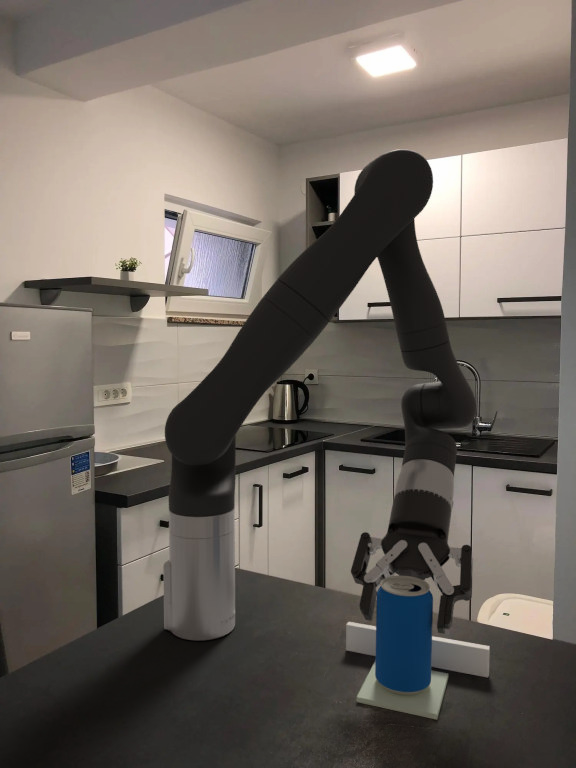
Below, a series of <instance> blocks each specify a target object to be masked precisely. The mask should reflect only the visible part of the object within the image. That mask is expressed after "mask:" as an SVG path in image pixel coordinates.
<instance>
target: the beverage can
mask: <svg viewBox="0 0 576 768" xmlns="http://www.w3.org/2000/svg"><path fill="white" fill-rule="evenodd" d="M376 591H377V596H376V605H375V606H376V611H375V614H376V617H375V620H376V623H375V626H376V656H375V660H376V661H375V660H374V662H375V676H376V679H377V681H378V682H379V683H380V684H381V685H382V686H384V688H386V689H387V690H388V691H390V692H392V693H395V694H399V695H414V694H417V693H420V692H421V691H422V690H424V689H426V688H427V687H428V686H429V685H430V683H431V670H432V667H431V661H432V636H433V623H434V622H433V617H434V616H433V615H434V613H433V612H434V611H433V610H434V597H433V594H432V591H430V584H429V583H428V582H427V581H426V580H422V579H419V578H416V577H411V576H399V575H394V576H390V577H387V578H384V579H383V580H382V581H381V585H380V586H379V587H378V588H377V590H376Z"/></svg>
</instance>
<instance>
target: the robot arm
mask: <svg viewBox="0 0 576 768" xmlns="http://www.w3.org/2000/svg"><path fill="white" fill-rule="evenodd" d="M433 187H434V176H433V170H432V167H431V166H430V163H429V162H428V160H427V158H425V157H424V156H423V155H422V154H420V153H419V152H417V151H414V150H412V149H406V148H405V149H403V148H402V149H394V150H390V151H387V152H384V153H382V154H380V155H378V157H376V158H375V159H373V160H371V162H369V163H368V164H366V166H364V167H363V168H362V170H361V171H360V172H359V174H358V176H357V178H356V181H355V184H354V189H353V190H354V194H353V196H352V197H351V199H350V201H349V202H348V203H347V205H346V206H345V208H344V209H343V210H342V212H341V214H339V216H337V218H336V219H335V221H334V222H333V223H332V224H331V226H330V227H328V229H327V230H326V231H324V232H323V234H321V236H319V237H318V238H317V239H316V240H315V241H313V242H312V244H311V245H309V246H308V247H306V249H305V250H303V252H301V254H299V255H298V256H297V257H296V258H295V260H294V261H292V262H291V263H290V264H289V266H288V267H287V268H286V269H285V270H284V271H283V272H282V273H281V274H280V276H279V277H277V280H275V282H273V284H272V285H271V287H270V288H269V289H267V292H266V293H264V295H263V296H262V298H261V299H260V301H258V303H257V305H256V306H255V307H254V309H253V310H252V311H251V313H250V314H249V316H248V317H247V319H246V320H245V321H244V323H243V325H242V326H241V328H240V329H239V331H238V332H237V334H236V336H235V337H234V338H233V340H232V342H231V344H230V346H229V347H228V349H227V351H226V352H225V354H224V355H223V356H222V358H220V360H219V361H218V363H216V365H215V366H214V367H213V369H212V370H211V371H210V372H209V373H208V374H207V375H206V376H205V377H204V378H203V379H202V380H201V382H200V383H199V384H198V385H197V386H196V387H195V388H194V389H192V391H191V392H190V393H188V394H187V396H186V397H184V399H182V400H181V401H180V402H179V403H177V404H176V405H175V406H174V407H173V408H172V409H171V411H170V413H169V414H168V417H167V418H166V421H165V425H164V440H165V444H166V446H167V448H168V451H169V453H170V455H171V473H170V474H171V475H170V484H169V489H168V534H169V535H168V540H169V541H168V542H169V543H168V545H169V546H168V547H169V549H168V550H169V558H168V560H167V561H165V562H164V563H163V567H162V569H163V629H164V630H168V631H169V632H171V633H172V634H173V635H174V636H176V637H178V638H180V639H182V640H183V639H184V640H189V641H210V640H214V639H219V638H221V637H224V636H225V635H228V634H229V633H230V632H232V631H233V629H235V625H236V553H235V552H236V541H235V539H236V535H235V534H236V531H235V529H236V528H235V527H236V526H235V525H236V524H235V521H236V520H235V512H236V511H235V506H236V505H235V498H236V455H237V454H236V450H237V449H236V448H237V447H236V441H237V440H236V438H237V437H236V436H237V433H238V431H239V430H240V428H242V425H243V424H244V423H245V421H246V419H247V418H248V416H249V415H250V413H251V412H252V411H253V408H254V407H256V404H258V402H259V400H260V399H261V398H262V397H263V396H264V394H265V393H266V392H267V391H268V390H269V388H271V387H272V386H273V384H275V383H276V382H277V381H278V380H279V379H280V378H281V377H282V376H283V375H284V374H285V373H286V372H287V371H288V370H289V369H290V368H291V367H292V366H293V365H294V364H295V363H296V362H297V361H298V360H299V359H300V358H301V356H302V355H304V353H305V352H306V350H308V348H310V347H311V345H312V344H313V343H314V342H315V340H316V339H317V338H318V337H319V336H320V335H321V333H322V332H323V331H324V329H325V328H326V327H327V325H329V323H330V322H331V321H332V319H333V318H334V317H335V315H336V314H337V313H338V311H339V310H340V308H342V306H343V305H344V303H345V302H346V301H347V299H348V298H349V296H350V295H351V294H352V292H353V291H354V289H355V288H356V287H357V285H358V284H359V283H360V281H361V280H362V278H363V277H364V275H365V274H366V272H367V270H368V269H370V267H371V265H372V264H373V262H375V260H376V259H377V261H378V264H379V267H380V270H381V273H382V277H383V280H384V283H385V289H386V292H387V296H388V298H389V299H388V300H389V304H390V308H391V312H392V317H393V322H394V326H395V332H396V335H397V339H398V343H399V348H400V354H401V358H402V361H403V364H404V366H405V367H406V368H407V369H409V370H411V371H417V372H420V371H421V372H426V373H430V374H432V375H433V376H435V377H436V378H437V379H438V380H439V381H434V382H433V381H432V382H425V383H424V382H423V383H417V384H413V385H412V386H409V388H408V389H407V390H405V392H404V393H403V395H402V397H401V402H400V404H401V407H400V408H401V414H402V418H403V424H404V425H403V426H404V438H405V439H404V440H405V443H404V444H405V447H404V452H403V453H404V454H403V457H402V463H401V469H400V473H399V474H398V477H397V482H396V484H395V489H394V496H393V500H392V504H391V505H392V506H391V511H390V516H389V521H388V527H387V532H386V534H385V535H384V537H383V538H379V537H374V536H371V534H370V533H369V532H367V531H364V532H363V533H361V534H360V537H359V540H358V544H357V547H356V551H355V554H354V557H353V562H352V565H351V569H350V573H351V576H352V578H353V581H354V583H355V584H358V585H360V586H362V589H361V590H362V591H361V594H360V601H359V610H360V612H361V614H362V615H363V617H364V620H365V621H370V622H372V620H373V617H374V610H375V606H376V602H377V591H378V589H379V588H380V586H381V581H382V580H383V579H384V578H387V577H390V576H396V575H397V576H411V577H416V578H419V579H422V580H424V581H426V579H429V578H431V580H432V582H433V583H434V586H435V587H436V588H437V590H439V592H440V594H441V595H440V597H439V598H440V599H439V606H438V612H437V613H438V615H437V623H436V629H437V633H438V634H443V635H445V634H446V630H450V629H451V627H452V625H453V618H454V617H453V615H454V609H455V604H456V602H458V601H462V600H463V601H465V602H466V601H467V602H469V601H470V600H471V599H472V598H473V597H472V596H473V569H474V566H473V564H474V558H473V549H472V546H471V545H469V544H463V545H462V546H461V547H451V546H450V545H449V542H448V540H449V535H450V525H451V518H452V509H453V508H454V493H455V490H454V489H455V487H454V486H455V485H454V483H455V482H454V478H455V469H456V463H457V462H456V461H457V454H458V447H457V442H456V440H455V439H454V438H453V437H452V436H451V435H449V434H448V433H447V432H445V431H442V430H450V429H451V430H452V429H453V430H454V429H462V428H465V427H468V426H470V425H471V423H472V422H473V420H474V419H475V416H476V414H477V402H476V397H475V394H474V392H473V390H472V387H471V385H470V384H469V382H468V380H467V379H466V377H465V375H464V373H463V371H462V369H461V367H460V366H459V363H458V361H457V359H456V355H455V353H454V351H453V349H452V345H451V341H450V336H449V332H448V327H447V321H446V318H445V313H444V309H443V307H442V306H443V305H442V303H441V299H440V297H439V295H438V293H437V290H436V286H435V285H434V283H433V281H432V278H431V277H430V276H431V275H430V274H429V272H428V270H427V268H426V265H425V263H424V260H423V257H422V254H421V252H420V251H421V250H420V248H419V244H418V239H417V233H416V224H415V222H416V221H415V219H416V217H418V216H419V215H420V214H421V213H422V212H423V210H424V209H425V207H426V206H427V204H428V203H429V200H430V199H431V197H432V192H433ZM378 550H382V552H383V554H384V555H383V556H382V557H381V558H380V559H379V560H378V561H376V563H375V566H374V567H372V569H370V570H369V571H368V572H367V570H368V567H369V563H370V559H371V556H374V555H375V554H376V553H377V552H378ZM450 559H452V560H454V565H456V567H458V568H460V574H459V575H460V577H459V579H460V580H459V584H456V585H453V584H452V582H451V581H450V580H449V578H448V577H447V575H446V573H445V571H444V569H443V566H444V565H445V564H446V563H447V562H448V561H449V560H450Z"/></svg>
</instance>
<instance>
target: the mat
mask: <svg viewBox="0 0 576 768" xmlns="http://www.w3.org/2000/svg"><path fill="white" fill-rule="evenodd" d="M375 661H376V659H375V660H374V662H373V664H372V666H371V668H370V670H369V672H368V674H367V676H366V678H365V679H364V681H363V683H362V685H361V687H360V689H359V691H358V693H357V695H356V702H357V703H359V704H364V705H369V706H374V707H379V708H382V709H387V710H391V711H397V712H400V713H405V714H409V715H415V716H419V717H423V718H428V719H432V720H438V719H439V714H440V711H441V707H442V703H443V700H444V696H445V692H446V688H447V686H448V680H449V673H448V672H447V673H446V672H442V671H437V670H432V669H431V683H430V685H429V686H428V687H427V688H426V689H424V690H422V691H421V692H420V693H417V694H414V695H399V694H395V693H392V692H390V691H388V690H387V689H386V688H384V686H382V685H381V684H380V683H379V682H378V681H377V679H376V676H375Z"/></svg>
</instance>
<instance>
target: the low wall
mask: <svg viewBox="0 0 576 768" xmlns="http://www.w3.org/2000/svg"><path fill="white" fill-rule="evenodd" d="M345 626H346V627H345V633H346V635H345V651H348V652H351V653H352V652H353V653H359V654H363V655H368V656H373V657H376V625H370V624H364V623H360V622H359V623H358V622H353V621H348V622H347V623H346V624H345ZM490 649H491V648H490V645H485V644H479V643H473V642H469V641H463V640H455V639H450V638H446V637H445V638H444V637H441V636H440V637H439V636H433V635H432V661H431V668H437V669H441V670H447V671H451V672H457V673H461V674H462V673H463V674H467V675H468V674H469V675H474V676H477V677H483V678H489V677H490V676H489V674H490Z"/></svg>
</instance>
